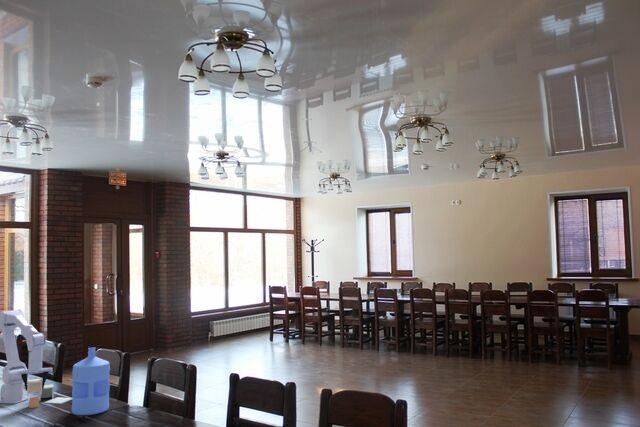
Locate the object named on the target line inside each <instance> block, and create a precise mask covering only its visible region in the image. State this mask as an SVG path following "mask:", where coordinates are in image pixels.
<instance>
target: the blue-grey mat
mask: <svg viewBox="0 0 640 427" xmlns="http://www.w3.org/2000/svg"><path fill="white" fill-rule="evenodd" d="M70 401H72V397H61V396H60V397H58V396H57V397H55V398H54V397H53V399H52V398H51V399H49V400H47V401H44V404H49V405H50V404H53V405H62V404H65V403H68V402H70Z"/></svg>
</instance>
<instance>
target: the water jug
mask: <svg viewBox="0 0 640 427" xmlns="http://www.w3.org/2000/svg"><path fill="white" fill-rule="evenodd" d="M87 349H88V351H87V354H88V355H87V356H86V357H85V358H84V359H81V360H80V361H78V362H77V363H75V364H73V366H72V388H71V393H72V396H71V398H72V400H71V401H72V402H71V409H70V410H71V413H72V414H73V415H76V416H92V415H97V414H101V413H104V412H106V411H108V410H109V408H110V388H111V387H110V386H111V385H110V371H111V365H110V361H108V360H106V359H103V358H101V357H98V356H96V352H97V351H96V347H94V346H93V347H88V348H87Z"/></svg>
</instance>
